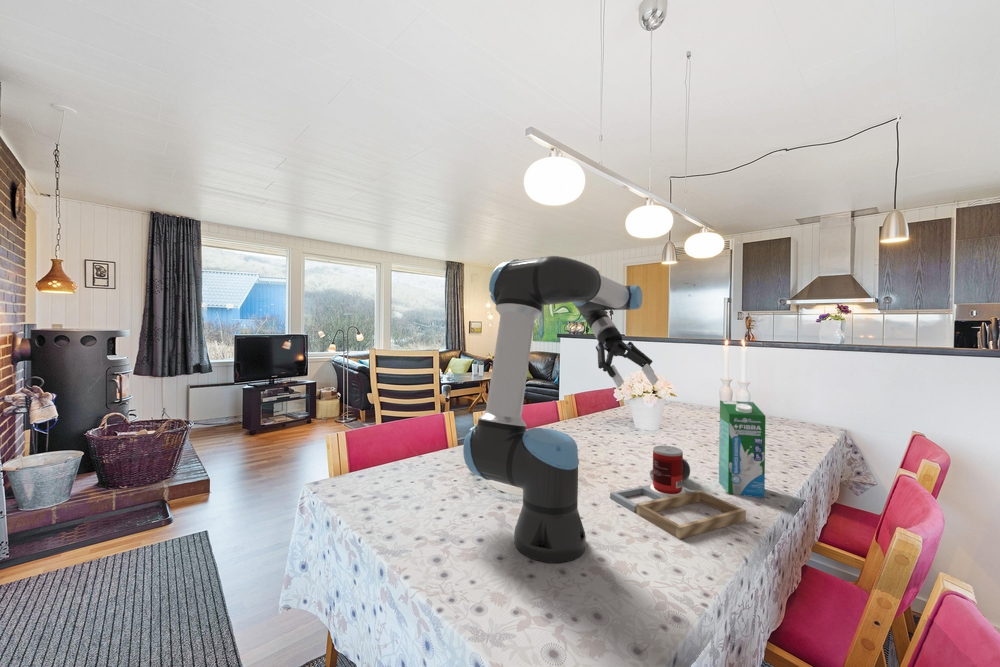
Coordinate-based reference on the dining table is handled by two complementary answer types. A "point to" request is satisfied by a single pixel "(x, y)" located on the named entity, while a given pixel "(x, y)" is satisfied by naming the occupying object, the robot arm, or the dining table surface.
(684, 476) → the ceramic mug
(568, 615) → the dining table surface
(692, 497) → the oak pen
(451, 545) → the dining table surface
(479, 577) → the dining table surface
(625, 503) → the grey rectangular frame
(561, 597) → the dining table surface
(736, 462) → the milk carton
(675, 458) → the canned food
